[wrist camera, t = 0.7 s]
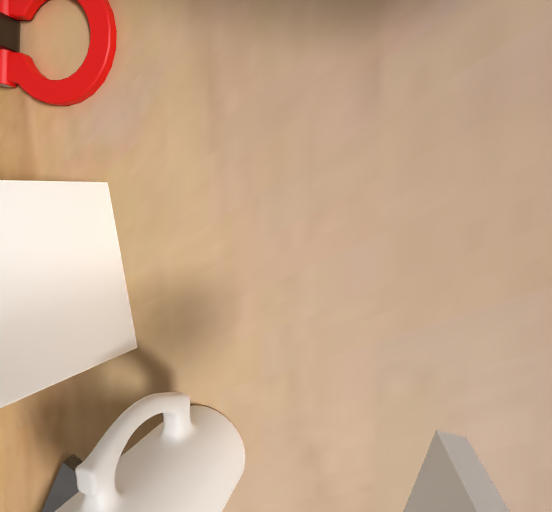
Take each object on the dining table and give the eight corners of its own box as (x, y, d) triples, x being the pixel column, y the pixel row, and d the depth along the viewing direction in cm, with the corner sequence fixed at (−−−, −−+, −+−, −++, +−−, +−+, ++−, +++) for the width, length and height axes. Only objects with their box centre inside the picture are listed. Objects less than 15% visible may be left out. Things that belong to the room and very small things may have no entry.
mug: (248, 506, 28) (136, 717, 16) (160, 481, 30) (6, 654, 18) (253, 362, 26) (136, 482, 15) (161, 346, 28) (-6, 442, 17)
